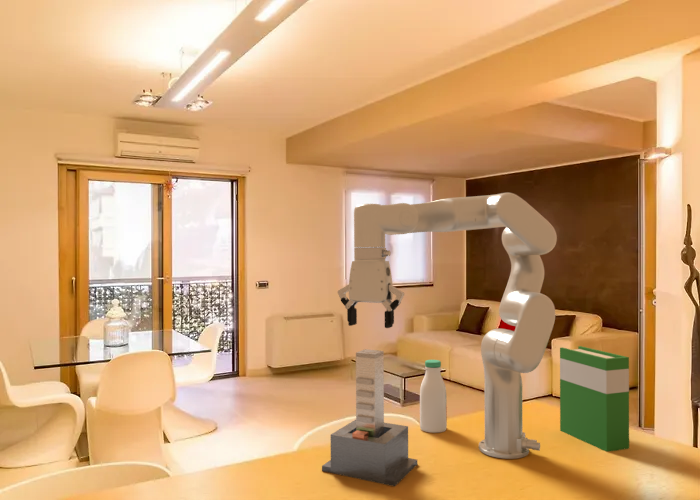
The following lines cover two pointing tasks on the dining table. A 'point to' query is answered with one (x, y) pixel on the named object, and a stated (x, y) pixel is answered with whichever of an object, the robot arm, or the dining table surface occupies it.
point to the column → (370, 392)
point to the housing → (371, 454)
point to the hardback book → (595, 397)
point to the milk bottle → (433, 399)
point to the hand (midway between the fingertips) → (370, 326)
